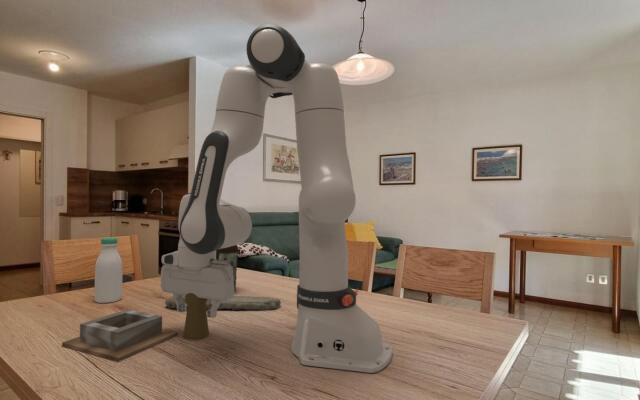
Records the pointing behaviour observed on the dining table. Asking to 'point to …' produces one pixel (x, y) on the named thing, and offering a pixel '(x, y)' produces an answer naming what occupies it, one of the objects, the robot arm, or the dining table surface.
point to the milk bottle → (108, 273)
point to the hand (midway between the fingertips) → (196, 314)
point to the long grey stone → (237, 303)
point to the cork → (195, 318)
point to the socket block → (120, 335)
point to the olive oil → (229, 258)
